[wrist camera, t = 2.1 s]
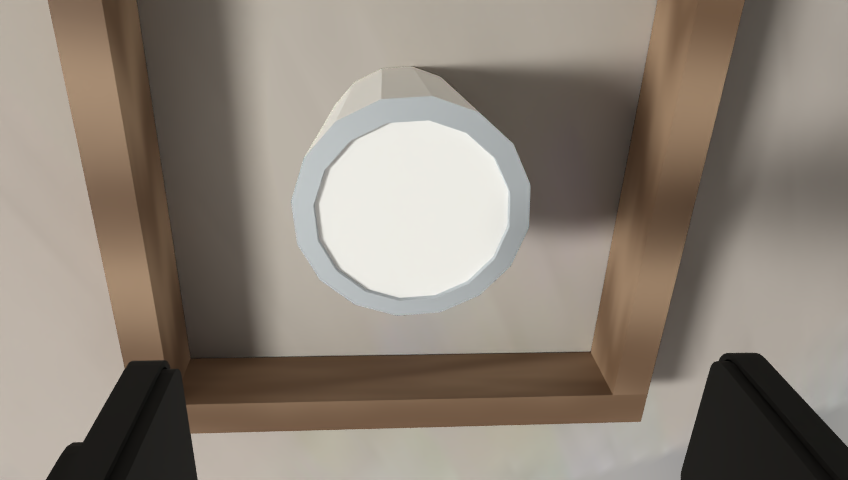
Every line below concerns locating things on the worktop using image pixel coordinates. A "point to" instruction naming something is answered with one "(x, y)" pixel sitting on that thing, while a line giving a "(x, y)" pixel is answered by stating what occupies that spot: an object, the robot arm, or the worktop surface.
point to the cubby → (398, 374)
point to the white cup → (409, 196)
